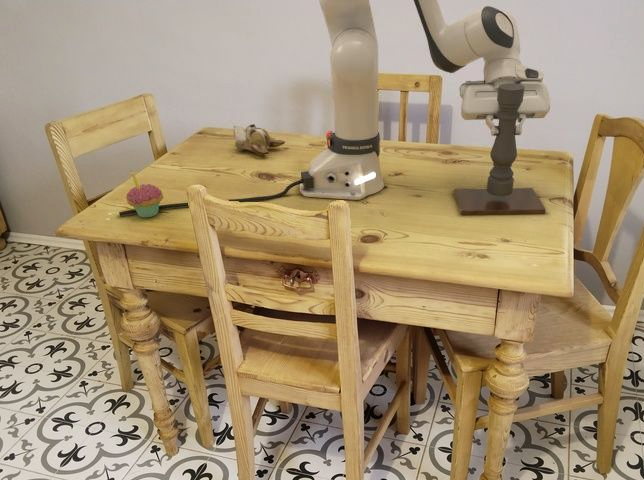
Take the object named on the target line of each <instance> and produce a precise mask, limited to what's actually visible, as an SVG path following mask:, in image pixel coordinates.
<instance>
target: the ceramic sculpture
mask: <svg viewBox="0 0 644 480" xmlns="http://www.w3.org/2000/svg"><path fill="white" fill-rule="evenodd" d="M233 137H234V141H235V142H234V143H235V147H236V149H237V150H238V151H242V152H243V151H244V150H247V151H250V152H253V153H255V154H256V155H258V156H265V155H270V152H269V150H268V149H269V148H278V147H280V146H283V145H285V143H286V142H285V141H279V140H277V139H276V138H275V137H272V136H270V134H269V133H268V132H267V130H265V128H262V127H257V126H256V125H255V124H250V125H248V126H246V128H244V127H243V126H237V125H233Z"/></svg>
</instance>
